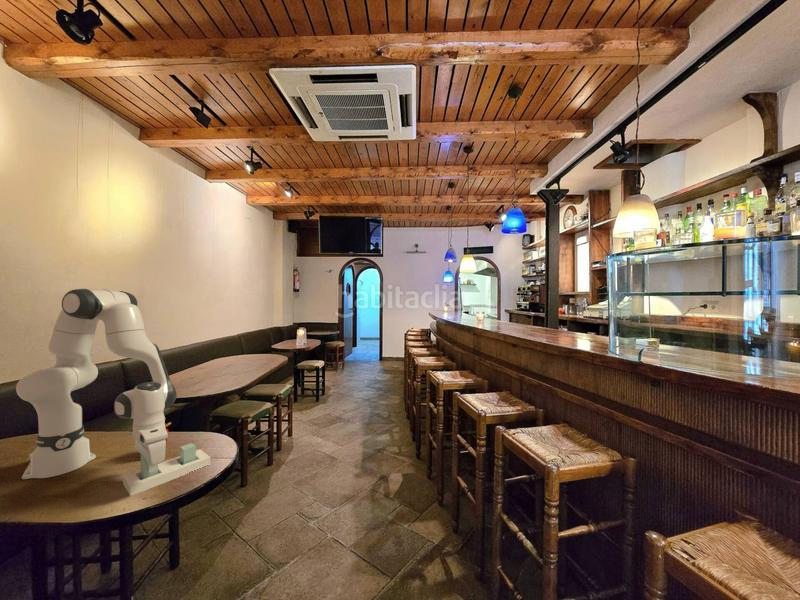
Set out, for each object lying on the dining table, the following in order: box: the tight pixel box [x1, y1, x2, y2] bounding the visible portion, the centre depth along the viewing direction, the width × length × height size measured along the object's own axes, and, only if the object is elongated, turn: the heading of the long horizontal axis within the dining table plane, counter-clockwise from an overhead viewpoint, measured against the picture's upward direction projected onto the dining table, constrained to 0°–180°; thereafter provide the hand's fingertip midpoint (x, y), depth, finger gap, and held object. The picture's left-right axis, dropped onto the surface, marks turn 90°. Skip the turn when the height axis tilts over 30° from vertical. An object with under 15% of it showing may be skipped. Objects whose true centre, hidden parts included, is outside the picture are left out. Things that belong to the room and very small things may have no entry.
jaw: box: [140, 454, 158, 479], centre depth 109 cm, size 4×4×8 cm
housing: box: [122, 442, 211, 497], centre depth 114 cm, size 10×24×8 cm, turn 142°
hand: (149, 468), depth 109 cm, fingers closed on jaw, 4 cm apart
